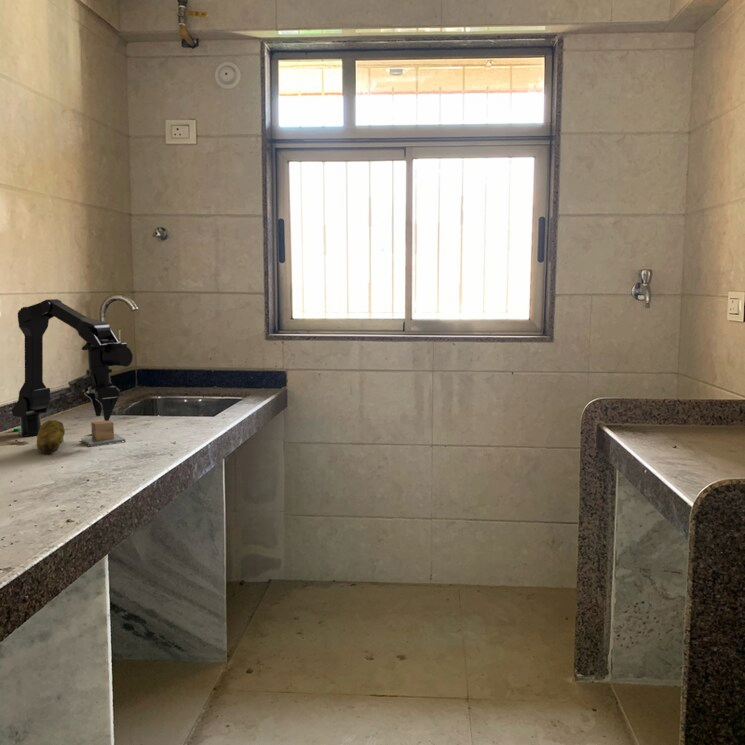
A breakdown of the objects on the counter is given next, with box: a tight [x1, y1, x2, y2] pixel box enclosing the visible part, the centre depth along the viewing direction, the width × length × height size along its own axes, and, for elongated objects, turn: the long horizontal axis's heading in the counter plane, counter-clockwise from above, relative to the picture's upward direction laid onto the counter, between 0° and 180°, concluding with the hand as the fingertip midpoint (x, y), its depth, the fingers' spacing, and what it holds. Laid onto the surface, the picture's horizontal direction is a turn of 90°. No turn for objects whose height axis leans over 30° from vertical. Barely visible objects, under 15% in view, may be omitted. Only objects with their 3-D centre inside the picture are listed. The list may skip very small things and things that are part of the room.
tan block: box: [90, 419, 115, 441], centre depth 211 cm, size 5×5×5 cm
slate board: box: [80, 433, 126, 447], centre depth 211 cm, size 10×10×1 cm
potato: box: [36, 419, 65, 455], centre depth 200 cm, size 8×13×8 cm, turn 1°
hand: (102, 418), depth 210 cm, fingers open, 9 cm apart
